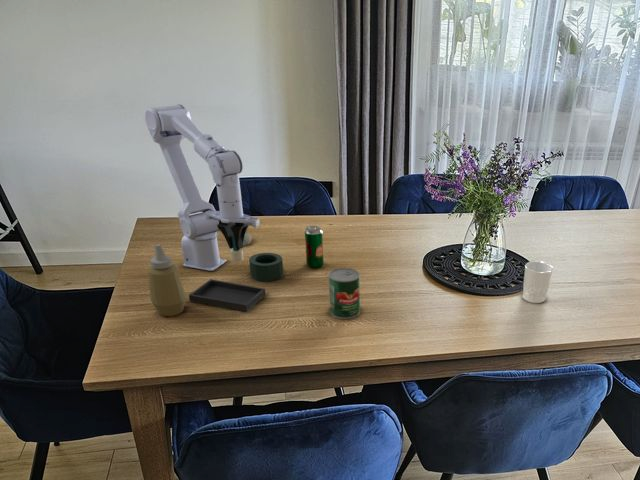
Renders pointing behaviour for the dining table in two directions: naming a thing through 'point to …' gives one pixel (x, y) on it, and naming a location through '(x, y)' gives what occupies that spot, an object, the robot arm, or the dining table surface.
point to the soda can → (314, 247)
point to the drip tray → (227, 295)
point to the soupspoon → (246, 239)
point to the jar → (266, 267)
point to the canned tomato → (344, 293)
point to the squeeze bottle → (165, 284)
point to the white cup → (536, 281)
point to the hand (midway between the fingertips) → (236, 247)
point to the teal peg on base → (236, 252)
